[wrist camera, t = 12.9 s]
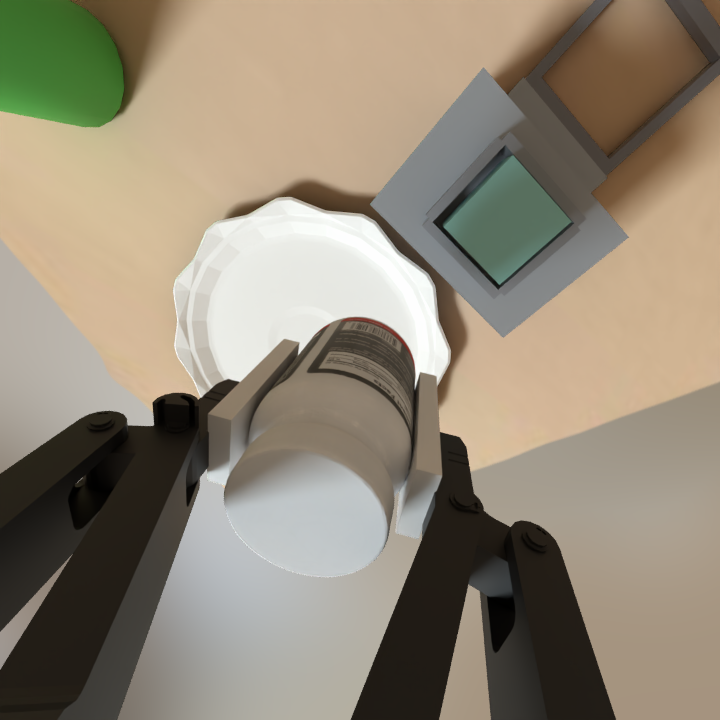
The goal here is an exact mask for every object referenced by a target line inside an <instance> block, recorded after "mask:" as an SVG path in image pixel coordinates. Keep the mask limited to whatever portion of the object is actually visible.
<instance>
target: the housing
mask: <svg viewBox="0 0 720 720" xmlns="http://www.w3.org/2000/svg"><path fill="white" fill-rule="evenodd" d="M610 1H611V0H595V1H594V2H593V3H592V5H591V6H590V7H589V8H588V9H587V10H586V11H585V12H584V14H583V15H582V16H581V17H580V18H579V19H578V20H577V21H576V23H575V24H574V25H573V26H572V27H571V28H570V29H569V30H568V31H567V33H566V34H565V35H564V36H563V37H562V38H561V39H560V40H559V42H558V43H557V44H556V45H555V46H554V47H553V48H552V49H551V51H550V52H549V53H548V54H547V55H546V56H545V57H544V58H543V60H542V61H541V62H540V63H539V64H538V65H537V66H536V67H535V69H534V70H533V71H532V72H531V73H530V74H529V75H528V76H527V78H526V79H525V78H524V77H523V78H522V79H521V80H520V81H519V82H518V84H517V85H516V86H515V87H514V88H513V89H512V90H511V91H510V93H509V94H508V95H507V94H506V93H505V92H504V91H503V89H502V88H501V87H500V86H499V85H498V84H497V82H496V81H495V80H494V79H493V78H492V77H491V75H490V74H489V73H488V72H487V71H486V70H485V68H484V67H483V68H482V70H481V71H480V72H479V73H478V74H477V76H476V77H475V78H474V79H473V81H472V82H471V83H470V84H469V85H468V87H467V88H466V89H465V90H464V91H463V93H462V94H461V95H460V96H459V97H458V99H457V100H456V101H455V102H454V103H453V105H452V106H451V107H450V108H449V109H448V111H447V112H446V113H445V114H444V115H443V117H442V118H441V119H440V120H439V122H438V123H437V124H436V125H435V126H434V128H433V129H432V130H431V131H430V132H429V134H428V135H427V136H426V137H425V138H424V140H423V141H422V142H421V143H420V144H419V146H418V147H417V148H416V149H415V150H414V152H413V153H412V154H411V155H410V156H409V158H408V159H407V160H406V161H405V163H404V164H403V165H402V166H401V167H400V169H399V170H398V171H397V172H396V173H395V175H394V176H393V177H392V178H391V179H390V181H389V182H388V183H387V184H386V185H385V187H384V188H383V189H382V190H381V191H380V193H379V194H378V195H377V196H376V197H375V199H374V200H373V201H372V202H371V203H370V205H371V206H372V207H373V208H374V209H375V210H376V211H377V212H378V213H379V214H380V215H381V216H382V217H383V218H384V219H385V220H386V221H387V222H388V223H389V224H390V225H391V226H392V227H393V228H394V229H395V230H396V231H397V232H398V233H399V234H400V235H401V236H402V237H403V238H404V239H405V240H406V241H407V242H408V243H409V244H410V245H411V246H412V247H413V248H414V249H415V250H416V251H417V252H418V253H419V254H420V255H421V256H422V257H423V258H424V259H425V260H426V261H427V262H428V263H429V264H430V265H431V266H432V267H433V268H434V269H435V270H436V271H437V272H438V273H439V274H440V275H441V276H442V277H443V278H444V279H445V280H446V281H447V282H448V283H449V284H450V285H451V286H452V287H453V288H454V289H455V290H456V291H457V292H458V293H459V294H460V295H461V296H462V297H463V298H464V299H465V300H466V301H467V302H468V303H469V304H470V305H471V306H472V307H473V308H474V309H475V310H476V311H477V312H478V313H479V314H480V315H481V316H482V317H483V318H484V319H485V320H486V321H487V322H488V323H489V324H490V325H491V326H492V327H493V328H494V329H495V330H496V331H497V332H498V333H499V334H500V335H501V336H502V337H505V336H506V335H507V334H508V333H510V332H511V331H512V330H513V329H515V328H516V327H517V326H518V325H520V324H521V323H522V322H523V321H525V320H526V319H527V318H528V317H530V316H531V315H532V314H533V313H535V312H536V311H537V310H538V309H540V308H541V307H542V306H543V305H545V304H546V303H547V302H548V301H550V300H551V299H552V298H553V297H555V296H556V295H557V294H558V293H560V292H561V291H562V290H563V289H565V288H566V287H567V286H568V285H570V284H571V283H572V282H573V281H575V280H576V279H577V278H578V277H580V276H581V275H582V274H583V273H585V272H586V271H587V270H588V269H590V268H591V267H592V266H593V265H595V264H596V263H597V262H598V261H600V260H601V259H602V258H603V257H605V256H606V255H607V254H608V253H610V252H611V251H612V250H613V249H615V248H616V247H617V246H618V245H620V244H621V243H622V242H623V241H625V240H626V239H627V238H628V236H627V234H626V233H625V232H624V231H623V230H622V229H621V227H620V226H619V225H618V224H617V223H616V222H615V220H614V219H613V218H612V217H611V216H610V215H609V213H608V212H607V211H606V210H605V209H604V208H603V206H602V205H601V204H600V203H599V202H598V200H597V199H596V198H595V197H594V196H593V195H592V193H591V192H592V191H594V190H595V189H596V188H597V187H598V186H599V185H600V184H601V183H603V182H604V181H605V180H606V179H607V175H608V174H609V173H610V172H611V171H612V170H613V169H615V168H616V167H617V166H618V165H619V164H620V163H621V162H622V161H623V160H625V159H626V158H627V157H628V156H629V155H630V154H631V153H632V152H633V151H635V150H636V149H637V148H638V147H639V146H640V145H641V144H642V143H644V142H645V141H646V140H647V139H648V138H649V137H650V136H651V135H652V134H654V133H655V132H656V131H657V130H658V129H659V128H660V127H661V126H663V125H664V124H665V123H666V122H667V121H668V120H669V119H670V118H671V117H673V116H674V115H675V114H676V113H677V112H678V111H679V110H680V109H681V108H683V107H684V106H685V105H686V104H687V103H688V102H689V101H690V100H692V99H693V98H694V97H695V96H696V95H697V94H698V93H699V92H700V91H702V90H703V89H704V88H705V87H706V86H707V85H708V84H709V83H711V82H712V81H713V80H714V79H715V78H716V77H717V76H718V75H719V74H720V26H719V25H718V24H717V22H716V21H715V19H714V18H713V16H712V15H711V14H710V12H709V11H708V9H707V8H706V6H705V5H704V4H703V2H702V1H701V0H665V1H666V2H667V4H668V5H669V6H670V8H671V9H672V10H673V12H674V13H675V15H676V16H677V17H678V19H679V20H680V22H681V23H682V24H683V26H684V27H685V28H686V30H687V31H688V33H689V34H690V35H691V37H692V38H693V40H694V41H695V42H696V44H697V45H698V46H699V48H700V49H701V51H702V52H703V53H704V55H705V56H706V58H707V59H708V60H709V62H710V64H708V65H707V66H706V67H705V68H704V69H703V70H702V71H701V72H700V73H699V74H698V75H697V76H695V77H694V78H693V79H692V80H691V81H690V82H689V83H688V84H687V85H686V86H685V87H683V88H682V89H681V90H680V91H679V92H678V93H677V94H676V95H675V96H674V97H673V98H671V99H670V100H669V101H668V102H667V103H666V104H665V105H664V106H663V107H662V108H661V109H659V110H658V111H657V112H656V113H655V114H654V115H653V116H652V117H651V118H650V119H649V120H647V121H646V122H645V123H644V124H643V125H642V126H641V127H640V128H639V129H638V130H637V131H635V132H634V133H633V134H632V135H631V136H630V137H629V138H628V139H627V140H626V141H625V142H623V143H622V144H621V145H620V146H619V147H618V148H617V149H616V150H615V151H614V152H613V153H611V154H610V155H609V156H608V157H607V156H606V155H605V153H604V152H603V151H602V150H601V149H600V147H599V146H598V145H597V144H596V143H595V141H594V140H593V139H592V138H591V137H590V135H589V134H588V133H587V132H586V130H585V129H584V128H583V127H582V126H581V124H580V123H579V122H578V121H577V120H576V118H575V117H574V116H573V115H572V114H571V112H570V111H569V110H568V109H567V107H566V106H565V105H564V104H563V103H562V101H561V100H560V99H559V98H558V97H557V95H556V94H555V93H554V92H553V91H552V89H551V88H550V87H549V86H548V84H547V83H546V82H545V81H544V80H543V78H542V76H543V75H544V74H545V73H546V72H547V71H548V70H549V69H550V67H551V66H552V65H553V64H554V63H555V62H556V61H557V60H558V59H559V58H560V56H561V55H562V54H563V53H564V52H565V51H566V50H567V49H568V48H569V47H570V45H571V44H572V43H573V42H574V41H575V40H576V39H577V38H578V37H579V36H580V34H581V33H582V32H583V31H584V30H585V29H586V28H587V27H588V26H589V25H590V23H591V22H592V21H593V20H594V19H595V18H596V17H597V16H598V15H599V14H600V12H601V11H602V10H603V9H604V8H605V7H606V6H607V5H608V4H609V3H610ZM512 155H513V156H514V157H515V158H516V159H517V160H518V161H519V162H520V163H521V165H522V166H523V167H524V168H525V169H526V170H527V171H528V173H529V174H530V175H531V176H532V177H533V178H534V179H535V180H536V182H537V183H538V184H539V185H540V186H541V187H542V188H543V190H544V191H545V192H546V193H547V194H548V195H549V196H550V197H551V199H552V200H553V201H554V202H555V203H556V204H557V205H558V206H559V208H560V209H561V210H562V211H563V212H564V213H565V214H566V216H567V217H568V218H569V219H570V220H571V221H572V222H571V223H570V224H568V225H567V226H566V227H565V228H564V229H563V230H562V231H560V232H559V233H558V234H557V235H556V236H555V237H554V238H552V239H551V240H550V241H549V242H548V243H547V244H546V245H544V246H543V247H542V248H541V249H540V250H539V251H538V252H536V253H535V254H534V255H533V256H532V257H531V258H530V259H529V260H527V261H526V262H525V263H524V264H523V265H522V266H521V267H519V268H518V269H517V270H516V271H515V272H514V273H513V274H511V275H510V276H509V277H508V278H507V279H506V280H505V281H503V282H502V283H501V284H500V285H499V284H498V283H497V282H496V281H495V280H494V279H493V278H492V277H491V276H490V275H489V274H488V273H487V272H486V270H485V269H484V268H483V267H482V266H481V265H480V264H479V263H478V262H477V261H476V260H475V259H474V258H473V257H472V256H471V255H470V254H469V253H468V252H467V251H466V250H465V249H464V248H463V247H462V246H461V245H460V244H459V243H458V242H457V240H456V239H455V238H454V237H453V236H452V235H451V234H450V233H449V232H448V231H447V230H446V229H445V228H444V227H443V225H442V223H443V222H444V221H445V219H446V218H447V217H448V216H449V215H450V214H451V213H452V212H453V211H454V210H455V209H456V208H457V207H458V206H459V205H460V204H461V203H462V202H463V201H464V200H465V199H466V197H467V196H468V195H469V194H470V193H471V192H472V191H473V190H474V189H475V188H476V187H477V186H478V185H479V184H480V183H481V182H482V181H483V180H484V179H485V178H486V177H487V176H488V174H489V173H490V172H491V171H492V170H493V169H494V168H495V167H496V166H497V165H498V164H499V163H500V162H501V161H502V160H503V159H505V158H507V157H510V156H512Z"/></svg>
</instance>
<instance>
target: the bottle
mask: <svg viewBox="0 0 720 720" xmlns="http://www.w3.org/2000/svg"><path fill="white" fill-rule="evenodd" d="M123 93H124V79H123V67H122V64H121V61H120V58H119V55H118V52H117V49H116V46H115V44H114V42H113V40H112V39H111V37H110V35H109V34H108V32H107V30H106V29H105V27H104V26H103V24H101V23H100V22H99V21H98V20H97V19H96V18H95V17H94V16H93V15H92V14H91V13H90V12H89V11H88V10H86V9H84V8H82V7H81V6H79V5H77V4H75V3H73V2H72V1H70V0H0V111H3V112H8V113H14V114H19V115H24V116H29V117H34V118H40V119H45V120H50V121H55V122H60V123H66V124H71V125H76V126H81V127H100V126H102V125H104V124H106V123H108V122H109V121H111V120H112V119H113V117H114V116H115V114H116V113H117V111H118V110H119V108H120V106H121V102H122V97H123Z"/></svg>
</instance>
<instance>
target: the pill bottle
mask: <svg viewBox="0 0 720 720" xmlns="http://www.w3.org/2000/svg"><path fill="white" fill-rule="evenodd" d="M415 379H416V373H415V363H414V359H413V355H412V353H411V350H410V349H409V347H408V345H407V343H406V342H405V341H404V339H403V338H402V337H401V336H400V335H399V334H398V333H397V332H396V331H395V330H394V329H392V328H391V327H389V326H388V325H386V324H384V323H382V322H380V321H378V320H375V319H371V318H367V317H347V318H342V319H339V320H336V321H333V322H331V323H329V324H327V325H326V326H324V327H323V328H322V329H320V330H319V331H318V332H317V333H316V334H315V335H314V336H313V337H312V339H311V340H310V341H309V342H308V344H307V345H306V346H305V347H304V349H303V350H302V351H301V353H300V354H299V355H298V356H297V357H296V359H295V360H294V361H293V363H292V364H291V365H290V366H289V367H288V369H287V370H286V371H285V372H284V374H283V375H282V376H281V377H280V379H279V380H278V381H277V382H276V383H275V385H274V386H273V387H272V388H271V390H270V391H269V392H268V393H267V394H266V396H265V397H264V398H263V400H262V401H261V403H260V405H259V406H258V408H257V410H256V412H255V414H254V416H253V419H252V422H251V425H250V430H249V447H248V448H247V449H246V451H245V452H244V453H243V455H242V456H241V458H240V459H239V461H238V462H237V464H236V465H235V467H234V468H233V469H232V471H231V473H230V475H229V477H228V479H227V482H226V486H225V490H224V505H225V510H226V513H227V516H228V519H229V522H230V524H231V526H232V527H233V529H234V531H235V532H236V534H237V535H238V536H239V538H240V539H241V540H242V541H243V542H244V543H245V544H246V545H247V546H248V547H249V548H250V549H251V550H252V551H253V552H255V553H256V554H258V555H259V556H260V557H262V558H263V559H265V560H266V561H268V562H270V563H272V564H274V565H276V566H278V567H280V568H283V569H285V570H288V571H291V572H294V573H298V574H302V575H307V576H315V577H337V576H343V575H348V574H351V573H354V572H357V571H359V570H361V569H363V568H365V567H366V566H368V565H369V564H370V563H372V562H373V561H374V560H375V559H376V558H377V557H378V556H379V555H380V553H381V552H382V550H383V549H384V547H385V544H386V542H387V539H388V536H389V530H390V523H391V519H392V514H393V509H394V497H395V496H396V494H397V493H398V492H399V490H400V489H401V488H402V486H403V484H404V482H405V480H406V478H407V475H408V472H409V468H410V464H411V457H412V442H413V417H414V396H415Z"/></svg>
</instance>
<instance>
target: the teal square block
mask: <svg viewBox="0 0 720 720" xmlns="http://www.w3.org/2000/svg"><path fill="white" fill-rule="evenodd" d="M571 222H572V221H571V220H570V219H569V218H568V217H567V216H566V214H565V213H564V212H563V211H562V210H561V209H560V208H559V206H558V205H557V204H556V203H555V202H554V201H553V200H552V199H551V197H550V196H549V195H548V194H547V193H546V192H545V191H544V190H543V188H542V187H541V186H540V185H539V184H538V183H537V182H536V180H535V179H534V178H533V177H532V176H531V175H530V174H529V173H528V171H527V170H526V169H525V168H524V167H523V166H522V165H521V163H520V162H519V161H518V160H517V159H516V158H515V157H514V156H513V155H512V156H510V157H507V158H505V159H503V160H502V161H501V162H500V163H499V164H498V165H497V166H496V167H495V168H494V169H493V170H492V171H491V172H490V173H489V174H488V176H487V177H486V178H485V179H484V180H483V181H482V182H481V183H480V184H479V185H478V186H477V187H476V188H475V189H474V190H473V191H472V192H471V193H470V194H469V195H468V196H467V197H466V199H465V200H464V201H463V202H462V203H461V204H460V205H459V206H458V207H457V208H456V209H455V210H454V211H453V212H452V213H451V214H450V215H449V216H448V217H447V218H446V219H445V221H444V222H443V223H442V225H443V227H444V228H445V229H446V230H447V231H448V232H449V233H450V234H451V235H452V236H453V237H454V238H455V239H456V240H457V242H458V243H459V244H460V245H461V246H462V247H463V248H464V249H465V250H466V251H467V252H468V253H469V254H470V255H471V256H472V257H473V258H474V259H475V260H476V261H477V262H478V263H479V264H480V265H481V266H482V267H483V268H484V269H485V270H486V272H487V273H488V274H489V275H490V276H491V277H492V278H493V279H494V280H495V281H496V282H497V283H498V284H499V285H500V284H501V283H502V282H503V281H505V280H506V279H507V278H508V277H509V276H510V275H511V274H513V273H514V272H515V271H516V270H517V269H518V268H519V267H521V266H522V265H523V264H524V263H525V262H526V261H527V260H529V259H530V258H531V257H532V256H533V255H534V254H535V253H536V252H538V251H539V250H540V249H541V248H542V247H543V246H544V245H546V244H547V243H548V242H549V241H550V240H551V239H552V238H554V237H555V236H556V235H557V234H558V233H559V232H560V231H562V230H563V229H564V228H565V227H566V226H567V225H568V224H570V223H571Z"/></svg>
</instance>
